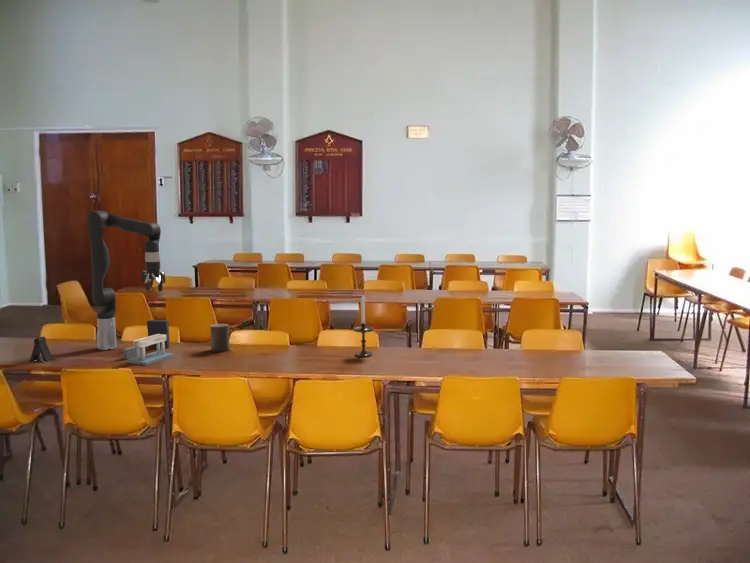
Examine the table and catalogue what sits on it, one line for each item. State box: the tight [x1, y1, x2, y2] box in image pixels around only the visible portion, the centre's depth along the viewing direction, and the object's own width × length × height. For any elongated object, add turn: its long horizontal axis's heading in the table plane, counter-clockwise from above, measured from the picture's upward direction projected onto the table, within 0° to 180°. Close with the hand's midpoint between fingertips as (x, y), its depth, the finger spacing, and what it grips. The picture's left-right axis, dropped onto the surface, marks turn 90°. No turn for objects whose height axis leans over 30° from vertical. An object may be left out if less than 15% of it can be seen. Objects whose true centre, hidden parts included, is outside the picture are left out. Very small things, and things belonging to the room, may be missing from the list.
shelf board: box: [132, 334, 167, 349], centre depth 374 cm, size 6×18×3 cm, turn 154°
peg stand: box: [127, 341, 175, 366], centre depth 375 cm, size 12×20×8 cm, turn 154°
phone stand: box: [29, 335, 53, 362], centre depth 375 cm, size 9×6×12 cm, turn 85°
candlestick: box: [352, 289, 375, 358], centre depth 379 cm, size 11×11×35 cm
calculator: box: [146, 319, 171, 349], centre depth 402 cm, size 11×4×15 cm, turn 84°
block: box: [122, 346, 142, 360], centre depth 381 cm, size 3×10×5 cm, turn 154°
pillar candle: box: [210, 323, 230, 353], centre depth 395 cm, size 10×10×15 cm
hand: (154, 290), depth 389 cm, fingers open, 8 cm apart
